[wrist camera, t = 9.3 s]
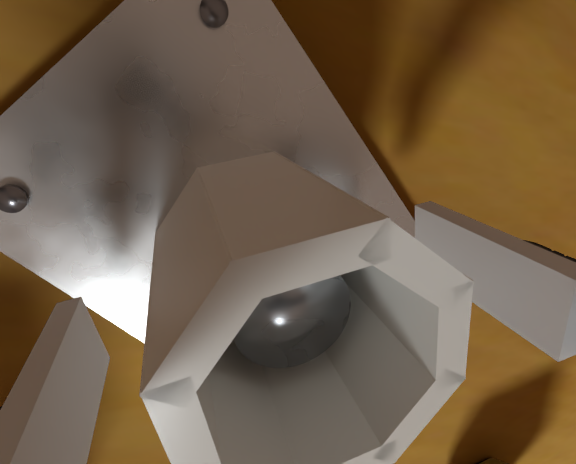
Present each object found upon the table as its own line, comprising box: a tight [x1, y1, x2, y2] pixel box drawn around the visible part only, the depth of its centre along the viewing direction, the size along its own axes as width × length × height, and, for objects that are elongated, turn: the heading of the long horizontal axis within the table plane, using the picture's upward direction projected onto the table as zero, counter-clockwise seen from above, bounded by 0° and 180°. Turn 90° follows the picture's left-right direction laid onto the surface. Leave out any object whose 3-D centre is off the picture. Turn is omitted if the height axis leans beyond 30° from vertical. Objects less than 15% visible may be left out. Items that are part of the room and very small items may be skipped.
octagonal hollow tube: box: [139, 151, 474, 464], centre depth 13 cm, size 8×8×9 cm
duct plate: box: [0, 0, 415, 368], centre depth 14 cm, size 20×14×7 cm
